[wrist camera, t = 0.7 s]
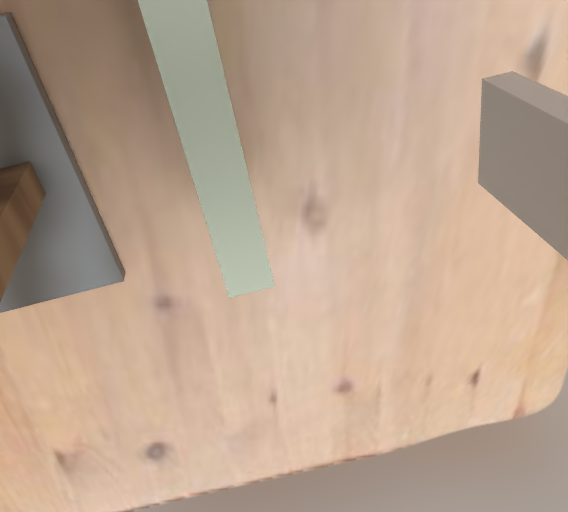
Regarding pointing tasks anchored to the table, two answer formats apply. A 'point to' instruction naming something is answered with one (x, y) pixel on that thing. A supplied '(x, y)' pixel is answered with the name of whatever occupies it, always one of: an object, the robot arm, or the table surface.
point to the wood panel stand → (42, 195)
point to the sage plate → (209, 137)
